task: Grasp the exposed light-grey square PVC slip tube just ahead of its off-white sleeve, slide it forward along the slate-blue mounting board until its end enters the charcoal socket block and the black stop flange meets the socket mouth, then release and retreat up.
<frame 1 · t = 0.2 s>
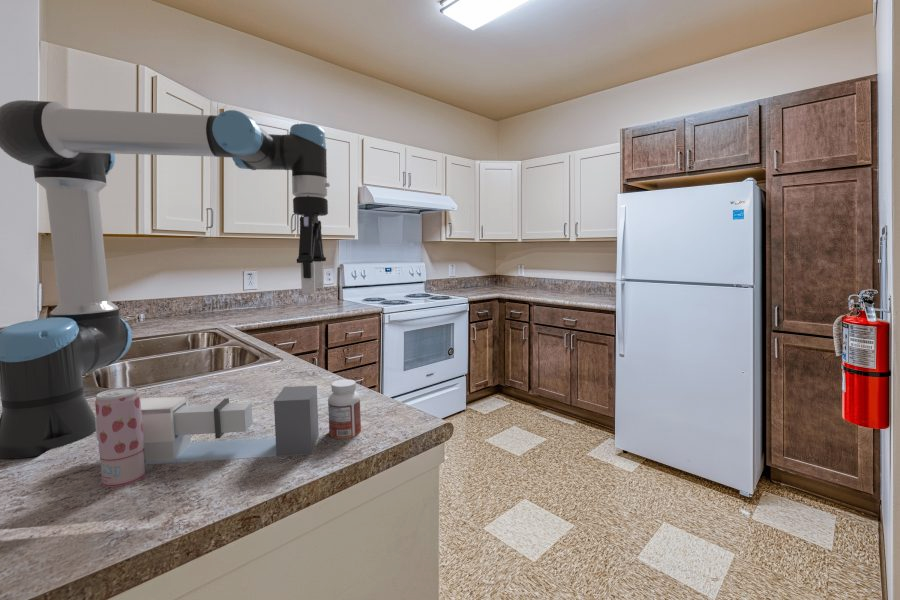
hand: (313, 290, 102), 28 cm above the counter, fingers open, 13 cm apart
sleeve: (155, 453, 78), resting on mounting board
mounting board: (224, 454, 80), on the counter
slip tube: (177, 420, 78), point 7 cm above the counter, slide at 0.0 cm
pill bottle: (345, 437, 88), on the counter
beverage can: (125, 484, 70), on the counter
socket: (298, 445, 81), resting on mounting board
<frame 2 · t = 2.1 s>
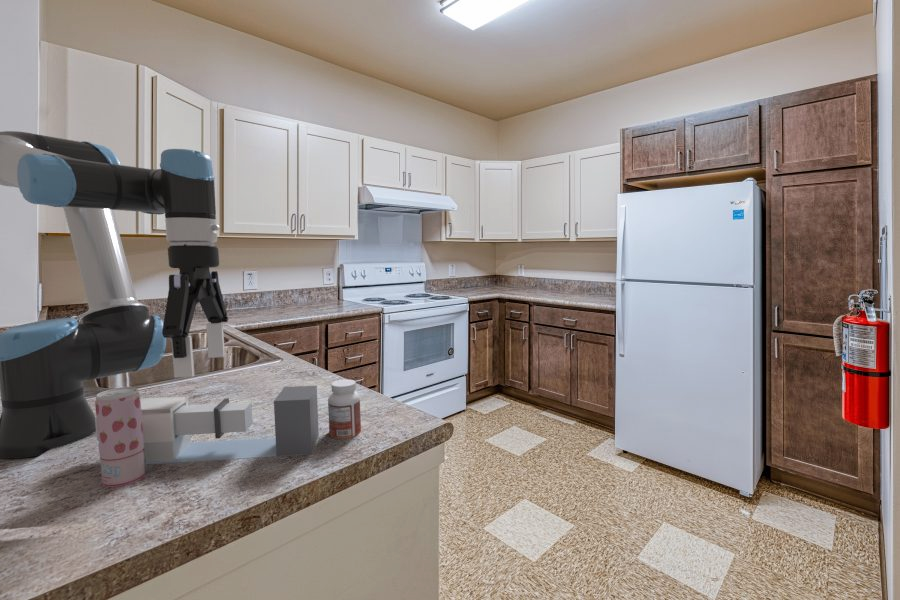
hand: (202, 366, 77), 17 cm above the counter, fingers open, 13 cm apart
nothing on the counter moved.
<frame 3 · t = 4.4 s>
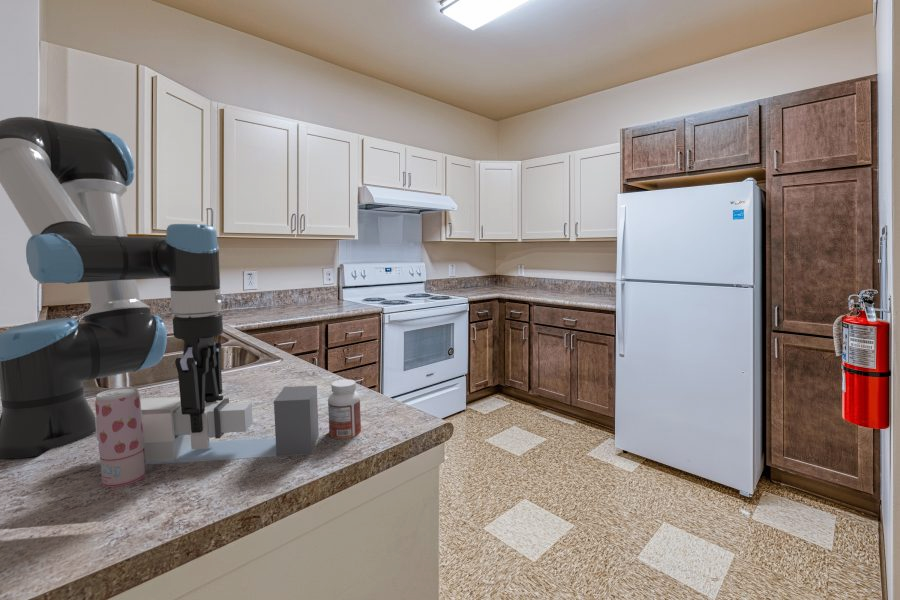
hand: (206, 441, 79), 3 cm above the counter, fingers closed on slip tube, 4 cm apart
slip tube: (177, 420, 78), point 7 cm above the counter, slide at 0.0 cm, touching gripper
everything else where it was.
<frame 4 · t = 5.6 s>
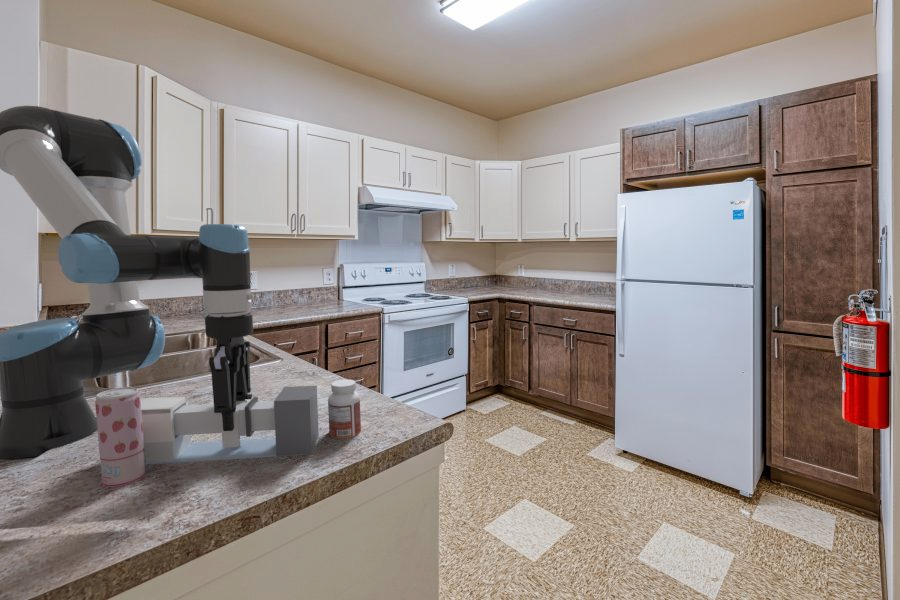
hand: (236, 440, 80), 3 cm above the counter, fingers closed on slip tube, 4 cm apart
slip tube: (208, 418, 79), point 7 cm above the counter, slide at 5.1 cm, touching gripper
everything else where it was.
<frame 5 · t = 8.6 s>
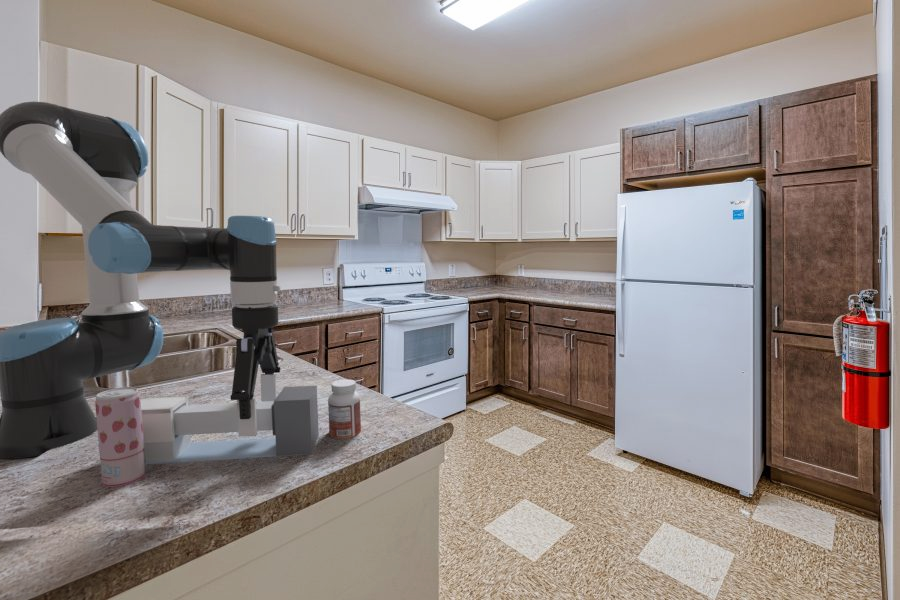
hand: (259, 420, 80), 6 cm above the counter, fingers open, 13 cm apart
slip tube: (234, 417, 79), point 7 cm above the counter, slide at 9.6 cm
everything else where it was.
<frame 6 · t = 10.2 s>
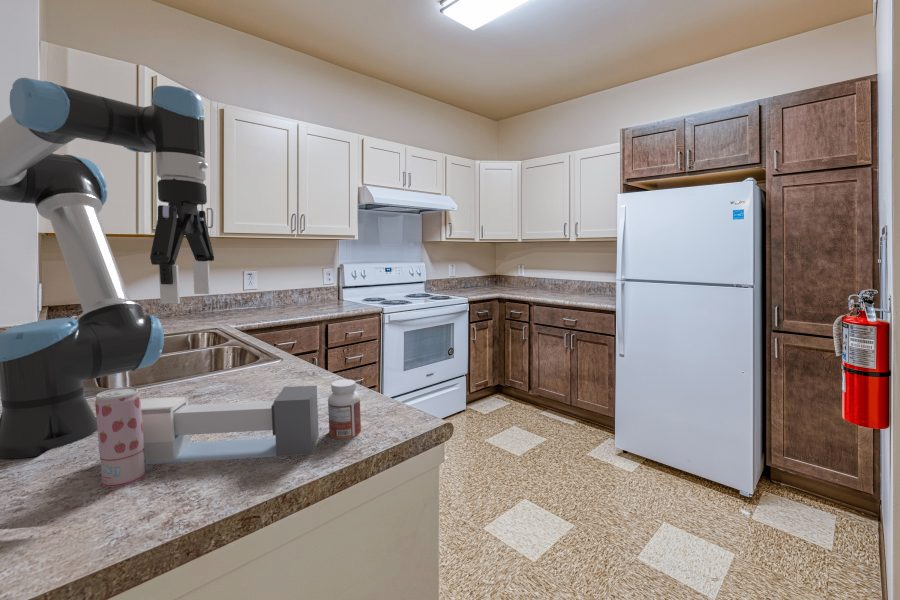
hand: (187, 298, 81), 28 cm above the counter, fingers open, 13 cm apart
nothing on the counter moved.
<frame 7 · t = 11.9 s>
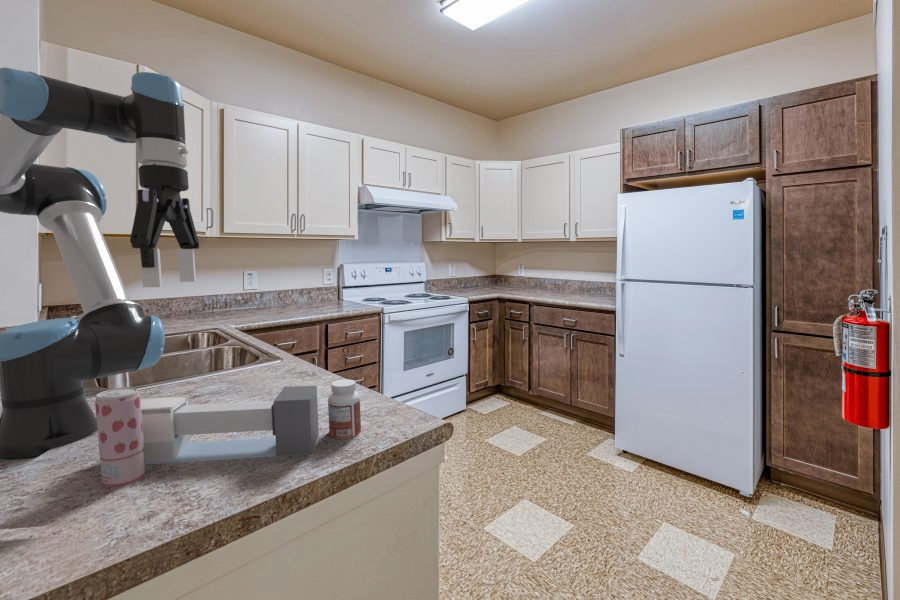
hand: (171, 284, 82), 31 cm above the counter, fingers open, 13 cm apart
nothing on the counter moved.
at the end: slip tube slide at 9.6 cm; slip tube 0.6 cm off-centre on the socket, point 6.0 cm above the socket's base; the gripper is holding nothing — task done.
